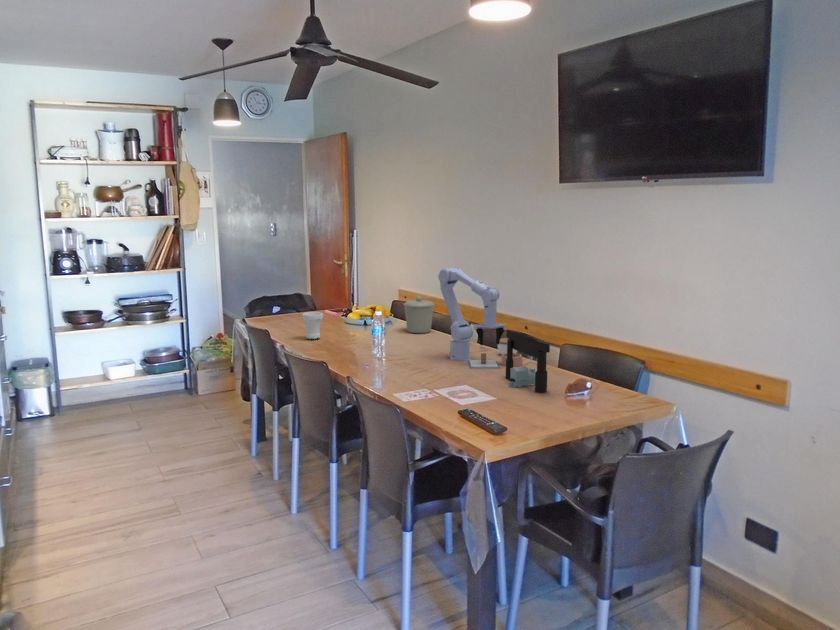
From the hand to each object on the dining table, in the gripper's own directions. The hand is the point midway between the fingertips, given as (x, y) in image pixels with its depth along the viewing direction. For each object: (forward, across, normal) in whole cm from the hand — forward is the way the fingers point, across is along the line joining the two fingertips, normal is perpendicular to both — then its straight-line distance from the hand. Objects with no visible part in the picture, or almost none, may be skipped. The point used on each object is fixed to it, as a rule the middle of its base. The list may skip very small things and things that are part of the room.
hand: (489, 344), depth 302 cm
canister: (+10, -18, +82) cm, 85 cm away
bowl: (+9, +10, -3) cm, 14 cm away
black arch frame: (+10, +5, -35) cm, 37 cm away
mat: (+10, -3, -2) cm, 10 cm away
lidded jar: (+10, +14, +16) cm, 23 cm away
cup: (+10, -78, +73) cm, 107 cm away
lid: (+9, -3, -2) cm, 10 cm away
